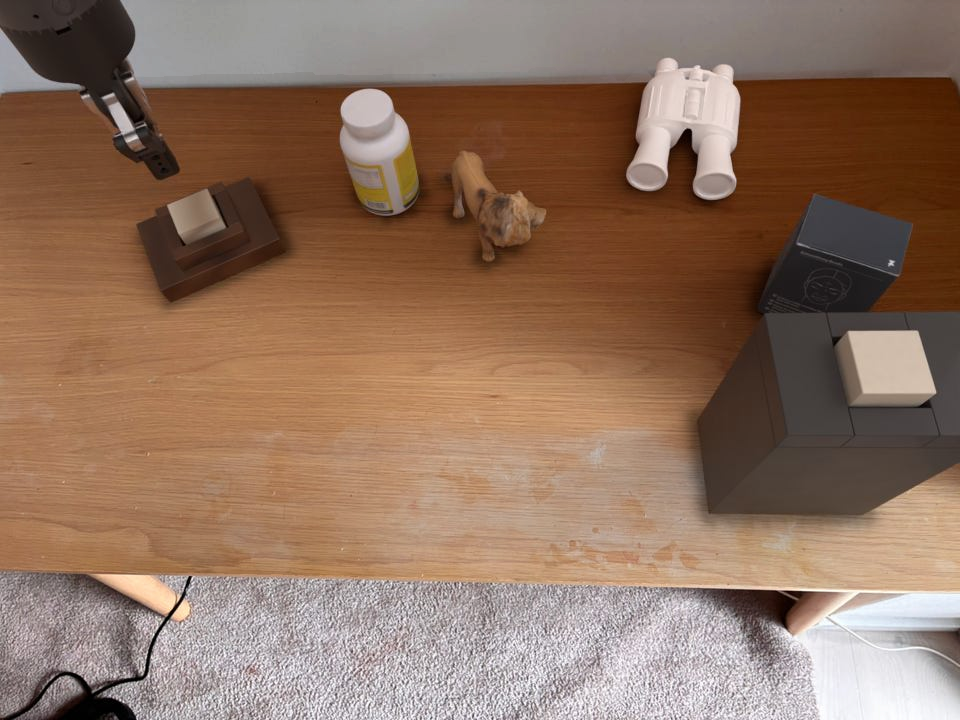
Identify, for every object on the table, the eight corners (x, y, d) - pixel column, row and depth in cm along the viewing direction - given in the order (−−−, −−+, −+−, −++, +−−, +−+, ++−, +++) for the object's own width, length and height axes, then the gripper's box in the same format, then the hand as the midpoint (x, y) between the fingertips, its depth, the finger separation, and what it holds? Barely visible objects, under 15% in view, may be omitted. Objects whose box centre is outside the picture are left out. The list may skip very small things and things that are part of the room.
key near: (846, 407, 40) (862, 393, 38) (832, 347, 42) (847, 330, 40) (917, 408, 40) (937, 393, 38) (900, 346, 41) (918, 329, 40)
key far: (186, 245, 65) (178, 234, 63) (174, 216, 66) (166, 204, 65) (226, 228, 65) (219, 217, 64) (214, 200, 67) (206, 188, 66)
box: (856, 294, 63) (916, 222, 53) (841, 344, 61) (901, 278, 51) (771, 265, 65) (814, 190, 55) (753, 312, 63) (795, 242, 53)
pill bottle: (419, 167, 72) (403, 77, 62) (421, 216, 69) (404, 130, 59) (358, 172, 72) (331, 84, 62) (357, 221, 70) (329, 137, 59)
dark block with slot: (708, 513, 55) (787, 435, 39) (696, 420, 58) (764, 312, 42) (863, 515, 54) (1009, 436, 38) (841, 420, 58) (967, 311, 41)
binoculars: (622, 191, 70) (629, 158, 65) (642, 79, 76) (649, 43, 72) (728, 206, 68) (742, 173, 64) (738, 91, 75) (751, 55, 71)
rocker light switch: (170, 303, 66) (150, 280, 63) (146, 237, 70) (126, 212, 66) (286, 252, 68) (273, 227, 65) (256, 190, 72) (242, 164, 68)
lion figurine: (550, 261, 66) (555, 200, 58) (505, 289, 65) (504, 231, 57) (464, 168, 72) (458, 101, 64) (422, 192, 71) (410, 127, 63)
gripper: (-31, -49, 46) (107, 138, 62) (4, 70, 41) (146, 243, 56) (78, -86, 48) (186, 107, 63) (126, 25, 42) (232, 206, 58)
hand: (167, 171), depth 60 cm, fingers closed
